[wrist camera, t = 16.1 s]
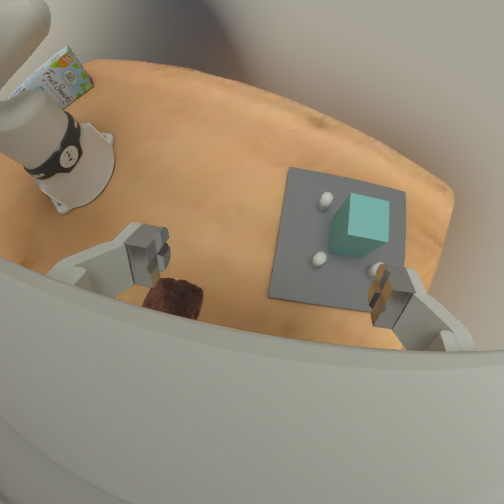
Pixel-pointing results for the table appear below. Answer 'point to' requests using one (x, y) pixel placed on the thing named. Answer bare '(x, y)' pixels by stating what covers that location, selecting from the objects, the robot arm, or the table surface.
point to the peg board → (317, 242)
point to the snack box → (59, 79)
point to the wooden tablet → (175, 298)
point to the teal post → (359, 226)
